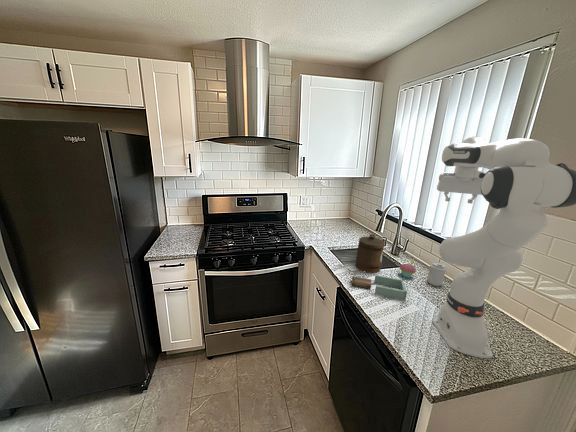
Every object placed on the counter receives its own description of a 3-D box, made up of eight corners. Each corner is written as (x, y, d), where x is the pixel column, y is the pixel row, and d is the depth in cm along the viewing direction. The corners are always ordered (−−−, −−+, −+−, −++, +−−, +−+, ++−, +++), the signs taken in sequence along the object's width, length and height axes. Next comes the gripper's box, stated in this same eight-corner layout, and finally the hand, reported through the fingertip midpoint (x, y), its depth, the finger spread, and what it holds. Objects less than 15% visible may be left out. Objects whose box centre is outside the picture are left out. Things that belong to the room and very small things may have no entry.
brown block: (370, 290, 124) (372, 281, 122) (351, 286, 127) (352, 277, 125) (370, 283, 130) (371, 275, 128) (351, 280, 133) (352, 271, 131)
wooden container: (385, 272, 144) (391, 238, 138) (364, 274, 139) (369, 239, 133) (370, 261, 157) (375, 229, 151) (350, 263, 153) (354, 231, 147)
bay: (405, 300, 116) (407, 292, 115) (374, 294, 120) (376, 286, 119) (401, 287, 128) (403, 279, 127) (374, 282, 132) (375, 274, 131)
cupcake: (412, 273, 143) (416, 255, 140) (415, 280, 135) (420, 261, 132) (397, 271, 145) (400, 253, 142) (399, 278, 137) (403, 259, 134)
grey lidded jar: (434, 287, 129) (439, 267, 126) (423, 280, 136) (427, 261, 133) (445, 286, 131) (450, 266, 128) (434, 279, 138) (438, 260, 135)
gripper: (442, 172, 111) (435, 201, 115) (494, 175, 105) (486, 205, 109) (438, 171, 117) (432, 198, 121) (487, 174, 111) (479, 203, 115)
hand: (458, 202), depth 115 cm, fingers open, 8 cm apart
